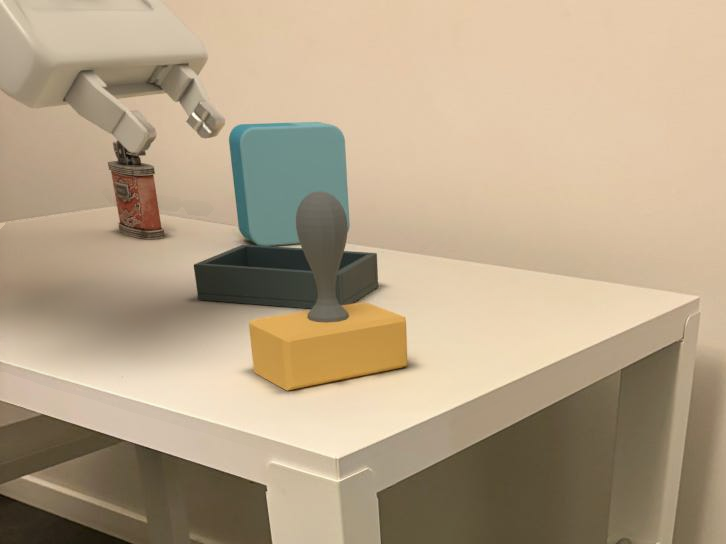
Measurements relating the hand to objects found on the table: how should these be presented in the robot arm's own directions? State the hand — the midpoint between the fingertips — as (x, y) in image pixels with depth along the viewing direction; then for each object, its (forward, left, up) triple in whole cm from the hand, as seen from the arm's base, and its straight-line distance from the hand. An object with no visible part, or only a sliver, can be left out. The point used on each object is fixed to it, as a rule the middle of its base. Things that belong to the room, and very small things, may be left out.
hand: (183, 137), depth 66 cm
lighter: (+15, +52, -15) cm, 57 cm away
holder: (+15, +15, -15) cm, 26 cm away
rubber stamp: (+6, -8, -15) cm, 18 cm away
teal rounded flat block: (+28, +38, -15) cm, 50 cm away
